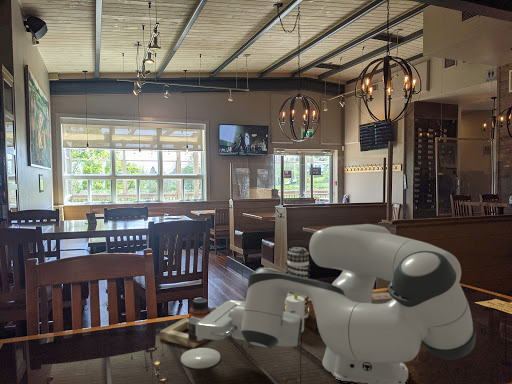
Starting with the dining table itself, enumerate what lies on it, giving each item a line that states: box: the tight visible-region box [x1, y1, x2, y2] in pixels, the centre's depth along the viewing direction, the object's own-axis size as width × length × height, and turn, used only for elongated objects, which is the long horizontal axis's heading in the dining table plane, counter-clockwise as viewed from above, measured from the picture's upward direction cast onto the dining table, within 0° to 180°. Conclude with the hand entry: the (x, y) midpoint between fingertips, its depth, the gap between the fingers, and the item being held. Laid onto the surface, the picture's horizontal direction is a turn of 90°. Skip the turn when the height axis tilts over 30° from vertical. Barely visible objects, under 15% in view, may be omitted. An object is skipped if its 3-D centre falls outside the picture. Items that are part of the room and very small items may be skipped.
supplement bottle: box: [187, 297, 210, 345], centre depth 109 cm, size 6×6×11 cm
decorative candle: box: [284, 246, 311, 319], centre depth 145 cm, size 9×9×25 cm
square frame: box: [159, 317, 200, 349], centre depth 125 cm, size 13×13×2 cm
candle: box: [285, 293, 305, 333], centre depth 131 cm, size 6×6×15 cm
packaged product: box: [372, 291, 393, 304], centre depth 158 cm, size 18×5×10 cm
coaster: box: [180, 347, 221, 370], centre depth 110 cm, size 11×11×1 cm
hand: (197, 314), depth 109 cm, fingers closed on supplement bottle, 6 cm apart
